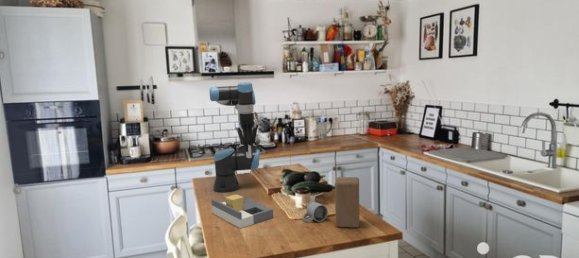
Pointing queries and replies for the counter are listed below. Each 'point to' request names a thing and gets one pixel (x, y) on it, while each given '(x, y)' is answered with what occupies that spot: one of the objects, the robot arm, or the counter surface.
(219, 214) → the tray
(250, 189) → the counter surface
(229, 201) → the ochre cube
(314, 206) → the ceramic mug
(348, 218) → the wooden block
